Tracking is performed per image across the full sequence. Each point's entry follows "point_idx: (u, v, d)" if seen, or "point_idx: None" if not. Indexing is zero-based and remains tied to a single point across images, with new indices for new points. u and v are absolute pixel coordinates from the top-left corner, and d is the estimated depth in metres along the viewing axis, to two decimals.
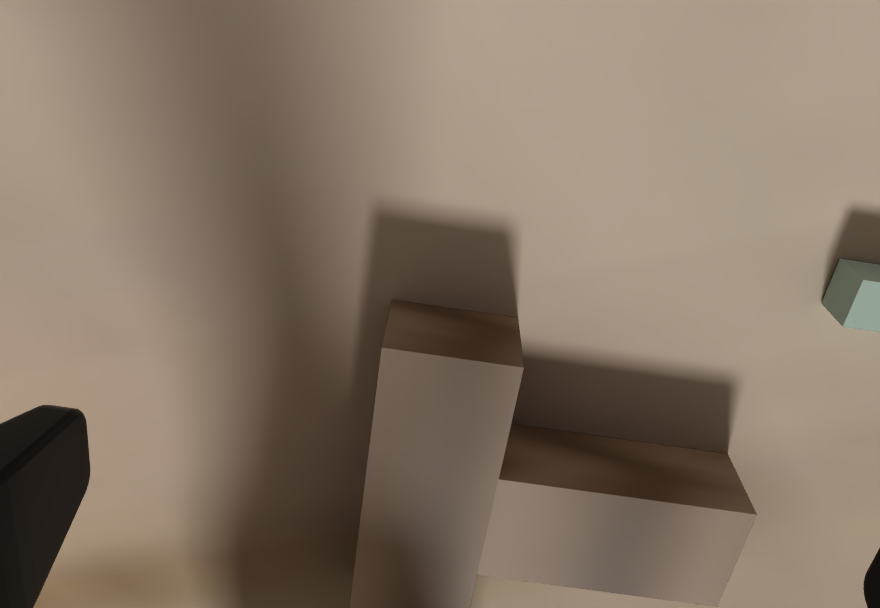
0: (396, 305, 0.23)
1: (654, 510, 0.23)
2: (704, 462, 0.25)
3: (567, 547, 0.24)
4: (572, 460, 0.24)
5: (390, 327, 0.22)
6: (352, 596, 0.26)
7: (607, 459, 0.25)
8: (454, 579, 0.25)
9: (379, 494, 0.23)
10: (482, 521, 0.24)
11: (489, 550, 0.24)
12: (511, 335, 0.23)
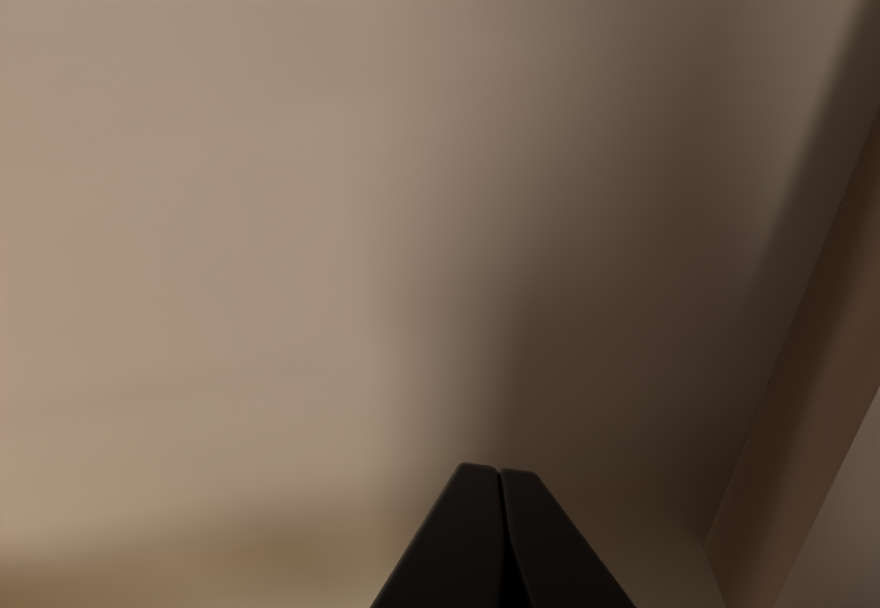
0: None
1: None
2: None
3: None
4: None
5: None
6: (792, 574, 0.13)
7: None
8: None
9: None
10: None
11: None
12: None
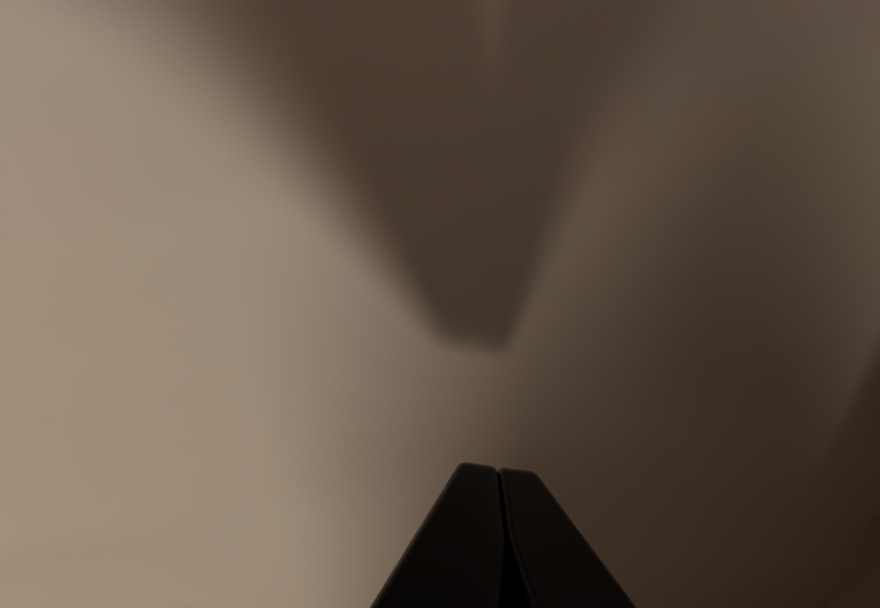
0: None
1: None
2: None
3: None
4: None
5: None
6: None
7: None
8: None
9: None
10: None
11: None
12: None
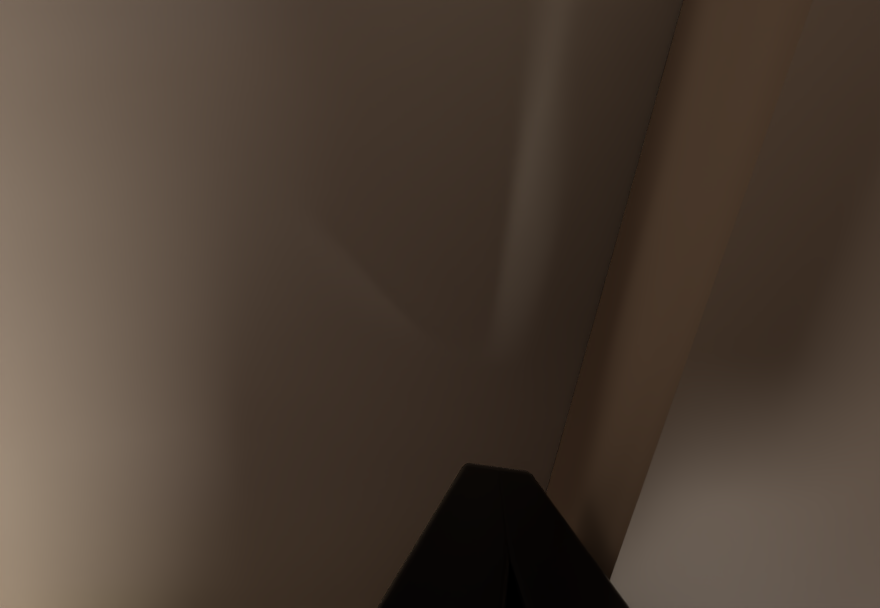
0: None
1: None
2: None
3: None
4: None
5: None
6: None
7: None
8: None
9: (672, 562, 0.07)
10: None
11: None
12: None
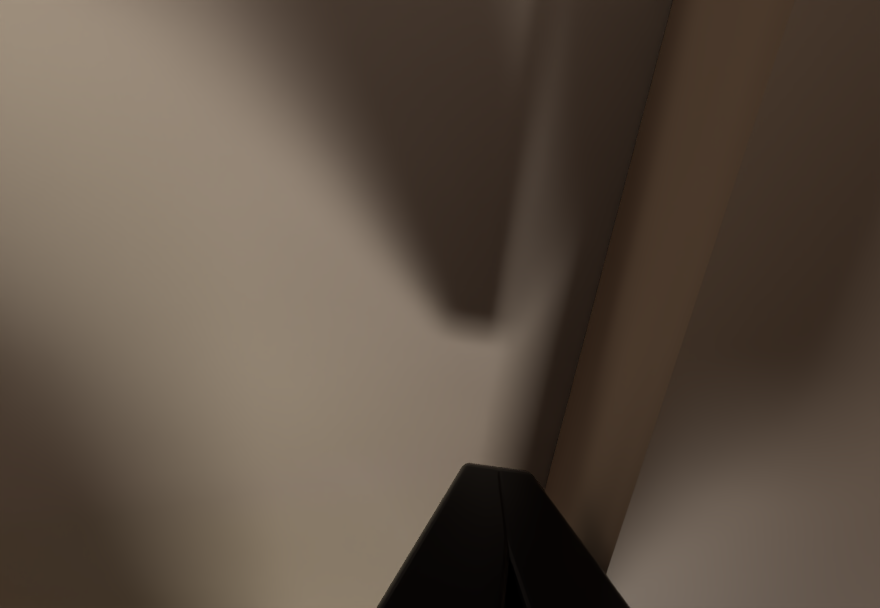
0: None
1: None
2: None
3: None
4: None
5: None
6: None
7: None
8: None
9: (670, 553, 0.07)
10: None
11: None
12: None
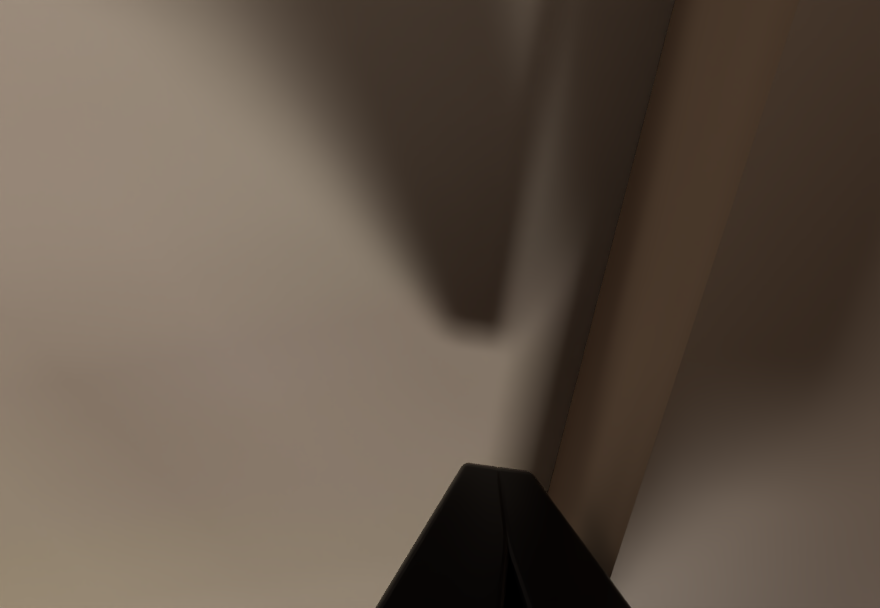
0: None
1: None
2: None
3: None
4: None
5: None
6: None
7: None
8: None
9: (674, 554, 0.07)
10: None
11: None
12: None
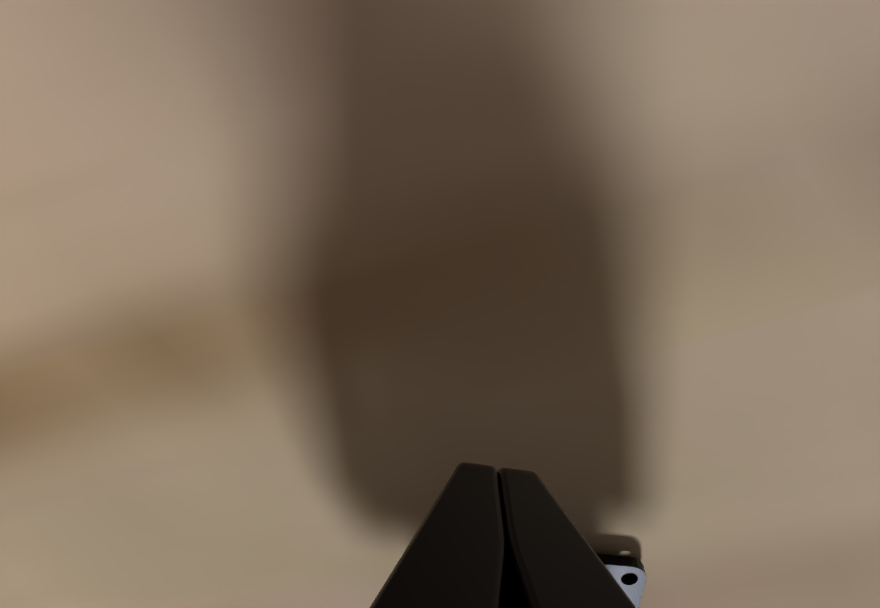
0: None
1: None
2: None
3: None
4: None
5: None
6: None
7: None
8: None
9: None
10: None
11: None
12: None
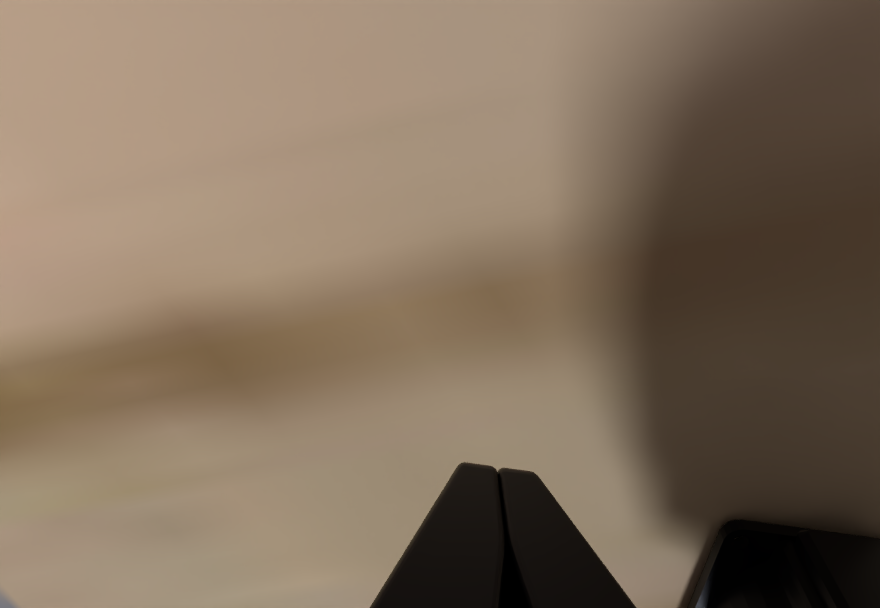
0: None
1: None
2: None
3: None
4: None
5: None
6: None
7: None
8: None
9: None
10: None
11: None
12: None
